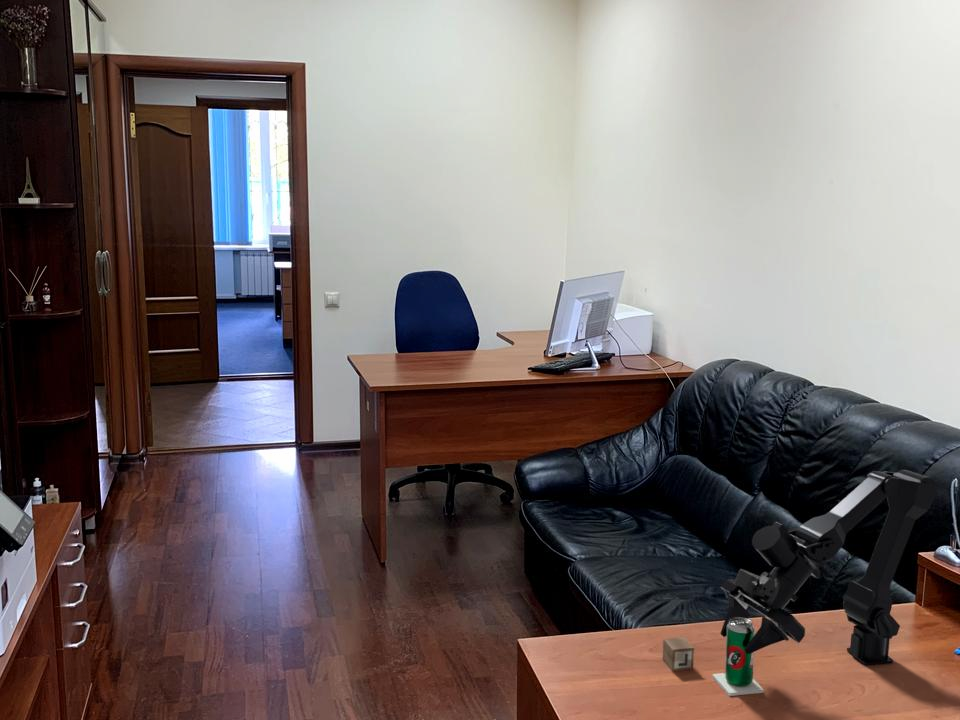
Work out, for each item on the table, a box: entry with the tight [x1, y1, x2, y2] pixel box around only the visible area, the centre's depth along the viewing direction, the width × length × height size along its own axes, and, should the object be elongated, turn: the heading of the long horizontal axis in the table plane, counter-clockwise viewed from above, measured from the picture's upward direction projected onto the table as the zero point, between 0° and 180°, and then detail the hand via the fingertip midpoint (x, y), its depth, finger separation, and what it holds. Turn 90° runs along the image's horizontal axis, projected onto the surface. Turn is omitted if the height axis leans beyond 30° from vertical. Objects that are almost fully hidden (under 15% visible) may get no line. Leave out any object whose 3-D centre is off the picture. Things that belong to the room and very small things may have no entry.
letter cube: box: [662, 636, 695, 672], centre depth 175 cm, size 4×5×4 cm
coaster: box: [711, 672, 765, 697], centre depth 167 cm, size 7×7×1 cm
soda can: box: [724, 617, 756, 687], centre depth 166 cm, size 5×5×12 cm
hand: (733, 643), depth 166 cm, fingers open, 7 cm apart
